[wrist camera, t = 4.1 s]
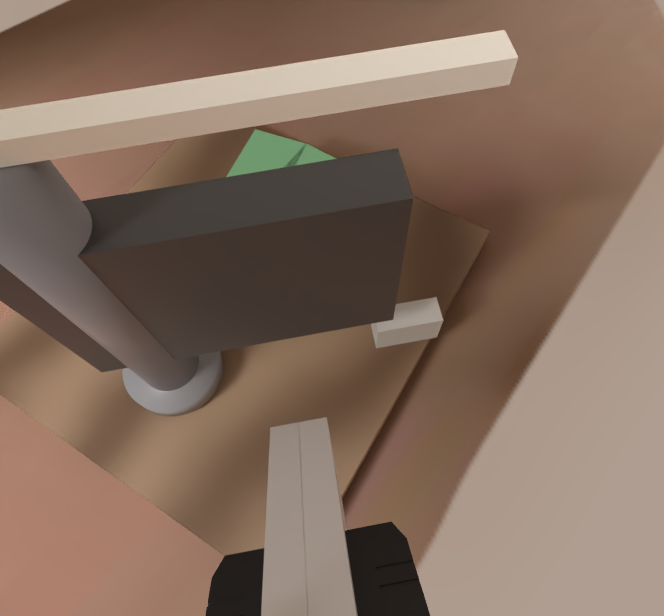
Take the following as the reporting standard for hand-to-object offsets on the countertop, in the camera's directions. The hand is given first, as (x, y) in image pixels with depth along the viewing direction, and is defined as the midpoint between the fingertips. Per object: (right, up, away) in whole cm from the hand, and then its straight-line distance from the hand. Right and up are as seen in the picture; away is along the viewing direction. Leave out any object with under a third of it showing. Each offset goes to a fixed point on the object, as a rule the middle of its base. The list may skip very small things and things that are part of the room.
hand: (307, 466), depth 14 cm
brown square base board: (-4, +4, +14) cm, 15 cm away
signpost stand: (-2, +2, +11) cm, 11 cm away
